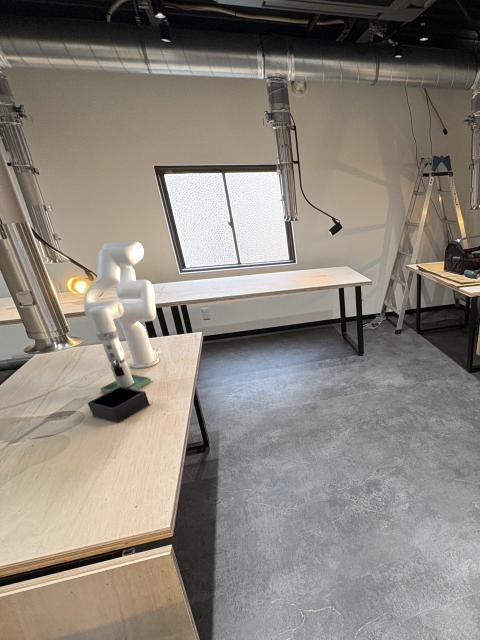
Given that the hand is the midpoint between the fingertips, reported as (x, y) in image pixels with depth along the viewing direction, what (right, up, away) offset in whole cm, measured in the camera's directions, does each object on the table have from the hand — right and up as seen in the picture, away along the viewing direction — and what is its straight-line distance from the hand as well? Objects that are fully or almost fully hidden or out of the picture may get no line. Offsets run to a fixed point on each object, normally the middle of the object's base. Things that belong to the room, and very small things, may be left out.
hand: (121, 372), depth 184 cm
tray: (0, -7, +4) cm, 8 cm away
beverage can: (0, -6, +3) cm, 7 cm away
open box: (+10, -16, -15) cm, 25 cm away
